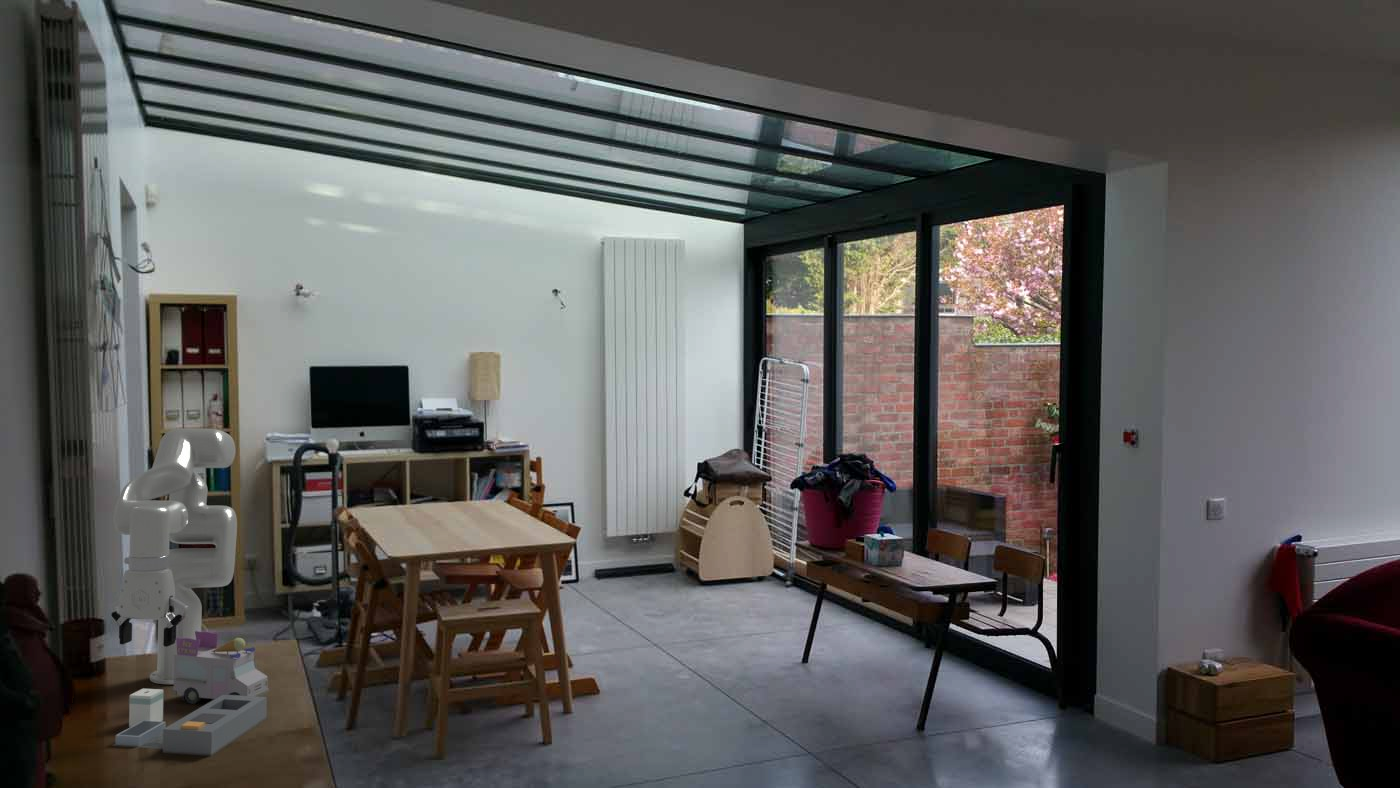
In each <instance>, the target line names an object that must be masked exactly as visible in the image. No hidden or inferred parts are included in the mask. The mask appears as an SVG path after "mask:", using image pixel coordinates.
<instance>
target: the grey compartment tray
mask: <svg viewBox="0 0 1400 788" xmlns="http://www.w3.org/2000/svg"><path fill="white" fill-rule="evenodd" d="M267 702H268V697H267V696H260V697H257V696H239V695H221V696H219V697H218V698H216V699H212V700H211V701H209V702H207V703H206V704H204V705H201V706H200V707H198V708H197V709H196V710H194V711H192V712H190V713H188V714H186V715H185V716H184V717H181V718H180V719H178V720H176V721H174V722H173V723H171V724H169V725H168V726H166V728H164V729H163V749H162V753H163V754H175V755H192V756H207V757H211V756H213V755H215V754H216V753H218V752H219V751H221V750H222V749H224V748H225V747H227V746H228V745H230V744H231V743H232V742H234V741H235V740H237V739H238V738H239V737H241V736H243V735H244V734H246V733H247V732H249V731H251V730H252V729H253V728H255V727H256V726H258V725H259V724H261V723H262V722H264V721H265V720H267V713H268V712H267V711H268V710H267V707H268V706H267V704H268V703H267Z"/></svg>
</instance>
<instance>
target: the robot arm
mask: <svg viewBox="0 0 1400 788" xmlns="http://www.w3.org/2000/svg"><path fill="white" fill-rule="evenodd" d="M235 444H236V443H235V440H234V439H233V437H232V436H231V435H230V434H229V433H227V432H225V431H223V430H221V429H217V428H216V429H215V428H183V427H182V428H173V429H170V430H169V431H167V432H165V434H164V435H162V437H161V439H160V441H159V442H158V449H157V452H156V455H155V458H154V461H153V463H152V467H151V468H150V469H147V470H146V471H144V472H142V473H140V474H139V475H137V476H136V477H135V478H133V479H132V480H130V481H129V482H127V484H125V485H124V487H123V488H122V490H121V492H120V494H119V497H118V499H117V503H116V505H115V508H114V512H113V516H112V517H113V518H112V519H113V521H112V522H113V525H114V529H115V531H116V532H118V533H119V534H121V535H124V536H129V551H128V552H129V555H128V557H127V556H126V557H125V558H124V559H123V562H124V564H125V565H128V569H126V570H125V571H124V574H123V577H122V582H121V585H120V592H119V598H117V599H115V600H113V601H111V602H109V603H108V604H107V607H108V610H109V612H110V613H111V617H112V618H113V620H114V621H115V623H116V625H117V626H118V639H119V645H125V644H127V643H130V642H132V639H133V623H132V622H131V620H132V619H133V620H134V619H135V620H151V621H152V620H158V622H157V660H156V661H157V664H156V667H157V670H154V671H153V672H151V673H150V675H149V680H150V682H152V683H155V684H158V685H174V654H177V642H176V638H191V639H195V640H196V635H195V631H199V632H202V617H203V615H202V612H203V610H202V609H203V606H202V602H201V600H200V598H199V597H198V595H197V594H196V593H195V591H194V590H193V589H196V588H220V587H221V588H222V587H225V586H226V587H227V586H228V585H229V584H230V583H231V582H232V580H233V577H234V573H235V565H236V564H235V562H236V550H237V549H236V548H237V537H238V519H237V513H236V512H235V510H234V508H232V507H230V506H228V505H221V504H220V505H207V502H208V492H209V490H208V486H207V483H206V482H205V480H204V479H203V477H201V476H200V475H199V474H198V472H196V470H194V469H200V468H201V469H225V468H228V467H230V466H231V465H232V464H233V463H234V460H235V458H236V445H235ZM168 495H169V497H168V500H157V499H158V498H160V497H164V496H168ZM154 499H155V500H154ZM170 542H171V543H174V544H177V545H178V544H179V545H201V544H202V545H207V544H208V545H214V546H215V547H210V548H208V547H206V548H202V547H201V548H200V547H193V548H192V547H189V548H185V547H184V548H172V549H170Z"/></svg>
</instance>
